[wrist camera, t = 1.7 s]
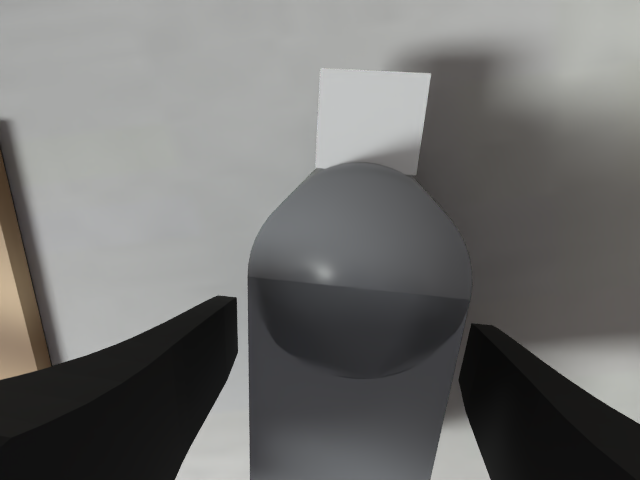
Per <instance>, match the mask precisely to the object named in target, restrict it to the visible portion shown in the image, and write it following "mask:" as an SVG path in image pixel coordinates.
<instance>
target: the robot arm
mask: <svg viewBox="0 0 640 480" xmlns="http://www.w3.org/2000/svg"><path fill="white" fill-rule="evenodd" d="M237 353H238V336H237V298H236V297H227V296H216V297H213V298H211V299H209V300H207V301H205V302H203V303H201V304H199V305H197V306H195V307H193V308H192V309H190V310H188V311H186V312H184V313H182V314H180V315H178V316H176V317H174V318H172V319H170V320H169V321H167V322H165V323H162V324H160V325H158V326H156V327H154V328H152V329H150V330H148V331H146V332H143V333H141V334H139V335H137V336H135V337H133V338H130V339H128V340H126V341H123V342H121V343H118V344H116V345H113V346H111V347H108V348H105V349H103V350H100V351H98V352H95V353H92V354H89V355H86V356H83V357H80V358H77V359H74V360H70V361H67V362H64V363H61V364H58V365H54V366H51V367H48V368H45V369H41V370H37V371H34V372H30V373H26V374H22V375H18V376H14V377H10V378H6V379H2V380H0V480H175V478H176V476H177V474H178V471H179V469H180V467H181V464H182V462H183V460H184V458H185V456H186V454H187V452H188V450H189V448H190V446H191V445H192V443H193V441H194V439H195V437H196V436H197V434H198V432H199V430H200V428H201V427H202V425H203V423H204V421H205V419H206V418H207V416H208V414H209V412H210V410H211V409H212V407H213V405H214V403H215V401H216V400H217V398H218V396H219V394H220V392H221V390H222V389H223V387H224V385H225V383H226V381H227V379H228V376H229V374H230V371H231V369H232V366H233V364H234V361H235V359H236V356H237ZM459 384H460V388H461V393H462V398H463V402H464V406H465V410H466V414H467V416H468V419H469V422H470V425H471V428H472V430H473V433H474V436H475V439H476V441H477V444H478V447H479V449H480V452H481V455H482V457H483V460H484V463H485V465H486V468H487V471H488V473H489V476H490V479H491V480H640V424H639V423H637V422H635V421H633V420H632V419H630V418H628V417H627V416H625V415H623V414H622V413H620V412H618V411H616V410H615V409H613V408H611V407H610V406H608V405H606V404H605V403H603V402H602V401H600V400H598V399H597V398H595V397H594V396H592V395H591V394H589V393H588V392H586V391H585V390H583V389H582V388H580V387H579V386H577V385H576V384H574V383H573V382H571V381H570V380H568V379H567V378H565V377H564V376H563V375H561V374H560V373H558V372H557V371H556V370H554V369H553V368H551V367H550V366H549V365H547V364H546V363H544V362H543V361H542V360H540V359H539V358H538V357H536V356H535V355H534V354H532V353H531V352H530V351H528V350H527V349H526V348H524V347H523V346H521V345H520V344H519V343H517V342H516V341H515V340H513V339H512V338H511V337H509V336H508V335H506V334H505V333H504V332H502V331H501V330H499V329H498V328H496V327H494V326H492V325H483V324H473V323H471V328H470V332H469V336H468V341H467V345H466V350H465V354H464V358H463V363H462V367H461V371H460V376H459Z"/></svg>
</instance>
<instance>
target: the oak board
mask: <svg viewBox="0 0 640 480" xmlns="http://www.w3.org/2000/svg"><path fill="white" fill-rule="evenodd" d="M48 367H51V362H50V358H49V353H48V349H47V345H46V341H45V336H44V332H43V328H42V324H41V319H40V315H39V311H38V307H37V302H36V298H35V294H34V290H33V286H32V281H31V277H30V273H29V269H28V264H27V260H26V256H25V252H24V247H23V243H22V239H21V235H20V230H19V226H18V222H17V218H16V213H15V209H14V205H13V201H12V196H11V192H10V188H9V184H8V179H7V175H6V171H5V167H4V162H3V158H2V154H1V150H0V380H2V379H6V378H10V377H14V376H18V375H22V374H26V373H30V372H34V371H37V370H41V369H45V368H48Z"/></svg>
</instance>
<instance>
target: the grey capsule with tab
mask: <svg viewBox="0 0 640 480" xmlns="http://www.w3.org/2000/svg"><path fill="white" fill-rule="evenodd" d="M430 78H431V73H414V72H393V71H372V70H350V69H329V68H320V82H319V102H318V121H317V140H316V160H315V168H316V169H315V170H314V171H313V172H312V173H311V174H310V175H309V176H308V177H307V178H306V179H305V180H304V181H303V182H302V183H301V184H300V185H299V186H298V187H297V188H296V189H295V190H294V191H293V192H292V193H291V194H290V195H289V196H288V197H287V198H286V199H285V200H284V201H283V202H282V203H281V204H280V206H279V207H278V208H277V209H276V210H275V211H274V212H273V213H272V214H271V215H270V216H269V217H268V219H267V220H266V222H265V223H264V224H263V226H262V227H261V229H260V231H259V233H258V235H257V237H256V239H255V241H254V244H253V247H252V250H251V254H250V259H249V264H248V344H249V427H250V480H430V478H431V474H432V469H433V465H434V460H435V456H436V451H437V447H438V442H439V438H440V433H441V429H442V424H443V420H444V415H445V411H446V406H447V402H448V397H449V393H450V388H451V384H452V379H453V375H454V370H455V366H456V361H457V357H458V352H459V348H460V343H461V339H462V334H463V330H464V325H465V321H466V316H467V312H468V307H469V303H470V298H471V291H472V269H471V262H470V257H469V254H468V251H467V248H466V245H465V243H464V241H463V239H462V237H461V235H460V233H459V231H458V229H457V228H456V226H455V225H454V224H453V222H452V221H451V219H450V218H449V217H448V216H447V215H446V214H445V212H444V211H443V210H442V209H441V208H440V207H439V206H438V205H437V203H436V202H435V201H434V200H433V199H432V198H431V197H430V196H429V194H428V193H427V192H426V191H425V190H424V189H423V188H422V186H421V185H420V184H419V183H418V182H417V181H416V180H415V179H414V177H413V176H412V175H416V174H417V167H418V160H419V153H420V146H421V140H422V133H423V126H424V119H425V112H426V105H427V99H428V92H429V85H430Z"/></svg>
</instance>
